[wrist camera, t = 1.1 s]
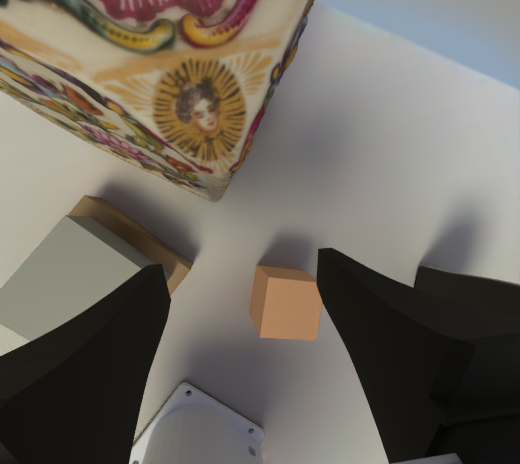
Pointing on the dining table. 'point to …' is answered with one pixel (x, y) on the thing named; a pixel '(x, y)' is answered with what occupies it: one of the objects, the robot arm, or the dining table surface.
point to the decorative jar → (153, 76)
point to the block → (285, 303)
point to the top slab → (67, 276)
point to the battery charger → (470, 289)
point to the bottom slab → (135, 237)
